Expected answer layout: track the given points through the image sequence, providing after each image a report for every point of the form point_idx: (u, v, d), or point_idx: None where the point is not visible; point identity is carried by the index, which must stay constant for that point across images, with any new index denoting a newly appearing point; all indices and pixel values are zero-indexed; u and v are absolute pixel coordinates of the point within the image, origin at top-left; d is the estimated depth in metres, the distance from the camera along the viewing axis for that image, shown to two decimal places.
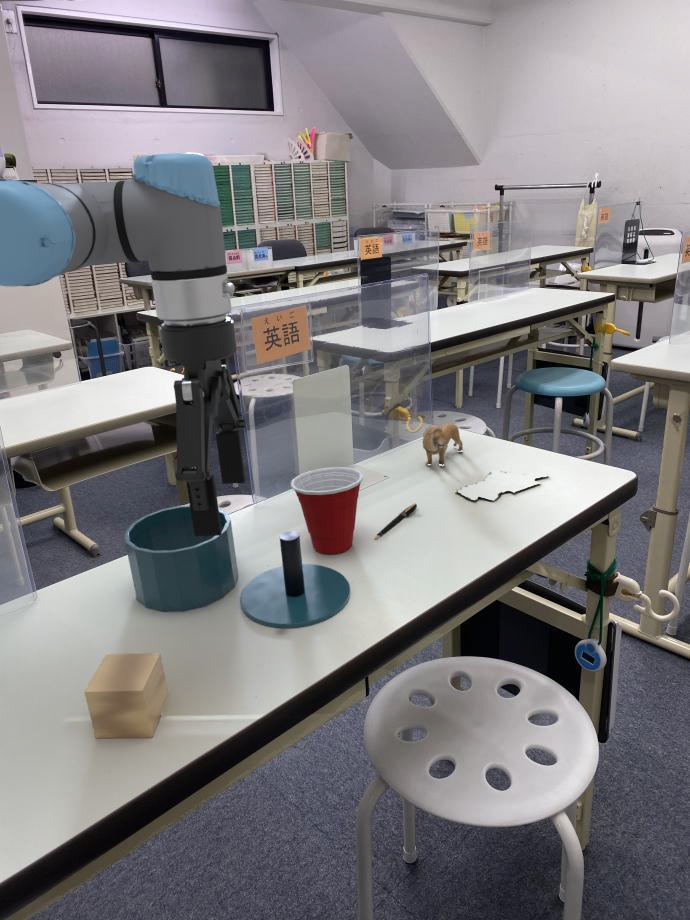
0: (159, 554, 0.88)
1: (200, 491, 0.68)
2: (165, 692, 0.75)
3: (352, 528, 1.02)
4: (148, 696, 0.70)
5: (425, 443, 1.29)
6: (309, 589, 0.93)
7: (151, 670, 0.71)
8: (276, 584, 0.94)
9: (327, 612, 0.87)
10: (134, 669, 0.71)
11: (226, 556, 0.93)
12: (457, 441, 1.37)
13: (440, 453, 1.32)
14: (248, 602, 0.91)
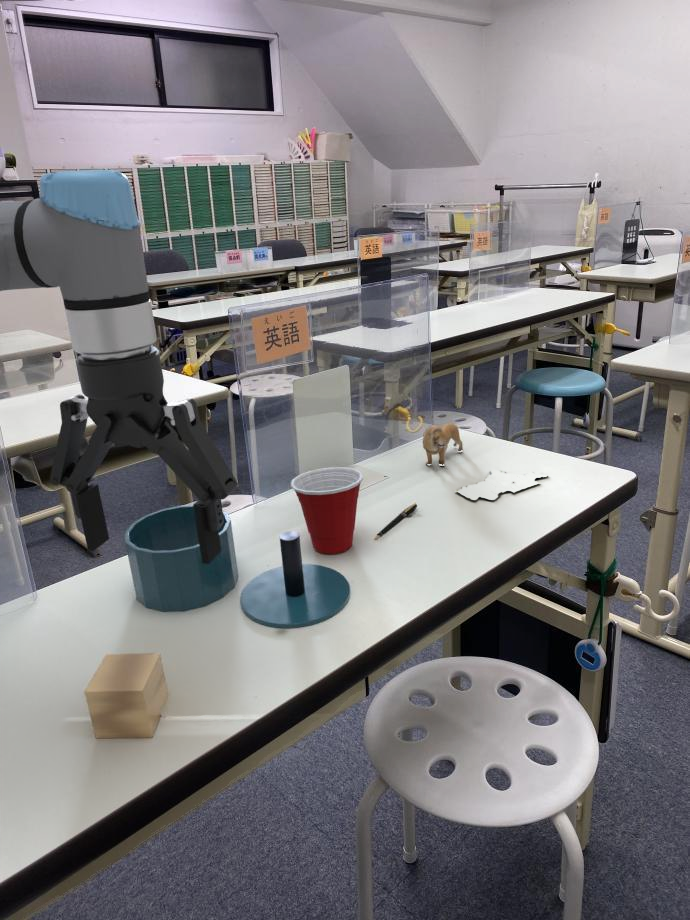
0: (159, 554, 0.88)
1: (220, 507, 0.67)
2: (165, 692, 0.75)
3: (352, 528, 1.02)
4: (148, 696, 0.70)
5: (425, 443, 1.29)
6: (309, 589, 0.93)
7: (151, 670, 0.71)
8: (276, 584, 0.94)
9: (327, 612, 0.87)
10: (134, 669, 0.71)
11: (226, 556, 0.93)
12: (457, 441, 1.37)
13: (440, 453, 1.32)
14: (248, 602, 0.91)
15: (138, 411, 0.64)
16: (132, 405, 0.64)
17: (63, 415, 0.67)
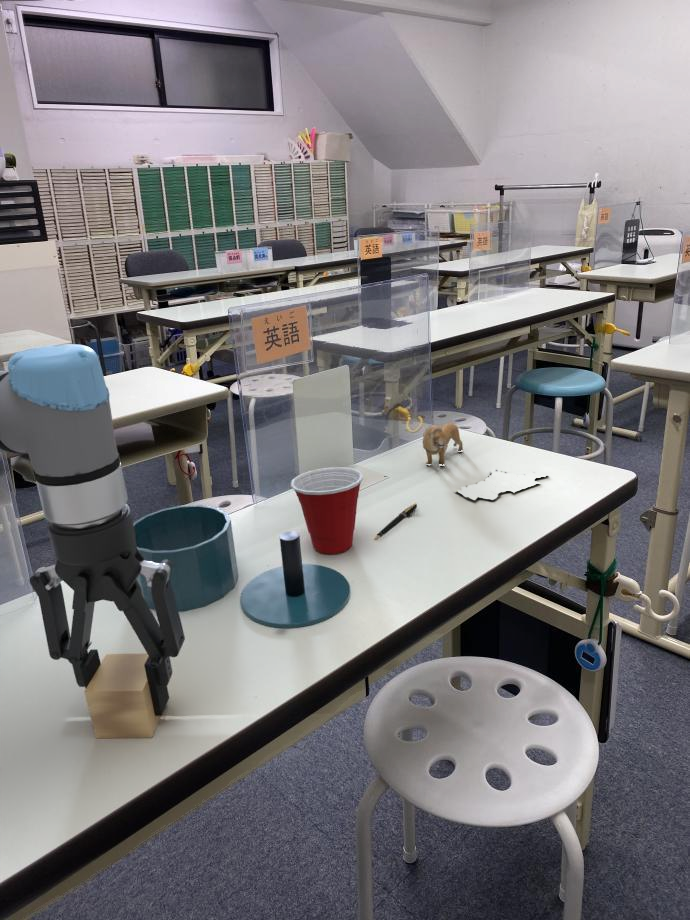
0: (159, 554, 0.88)
1: (169, 661, 0.71)
2: None
3: (352, 528, 1.02)
4: (148, 696, 0.70)
5: (425, 443, 1.29)
6: (309, 589, 0.93)
7: None
8: (276, 584, 0.94)
9: (327, 612, 0.87)
10: (134, 669, 0.71)
11: (226, 556, 0.93)
12: (457, 441, 1.37)
13: (440, 453, 1.32)
14: (248, 602, 0.91)
15: (115, 564, 0.65)
16: None
17: (37, 589, 0.67)
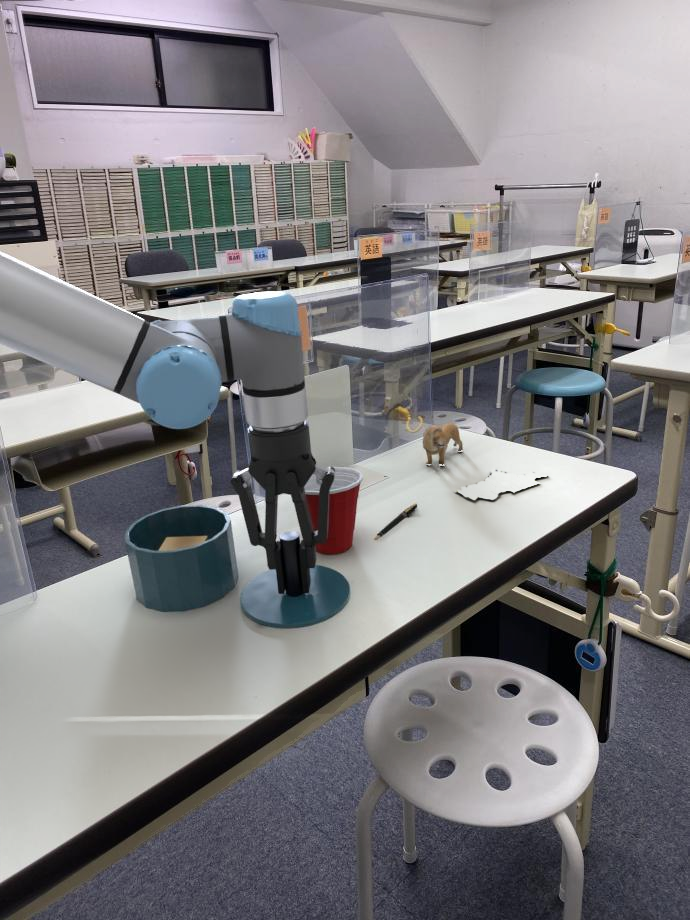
0: (159, 554, 0.88)
1: (315, 549, 0.90)
2: None
3: (352, 528, 1.02)
4: None
5: (425, 443, 1.29)
6: (309, 589, 0.93)
7: None
8: (276, 584, 0.94)
9: (327, 612, 0.87)
10: (189, 545, 0.95)
11: (226, 556, 0.93)
12: (457, 441, 1.37)
13: (440, 453, 1.32)
14: (248, 602, 0.91)
15: (298, 463, 0.84)
16: None
17: (237, 488, 0.86)
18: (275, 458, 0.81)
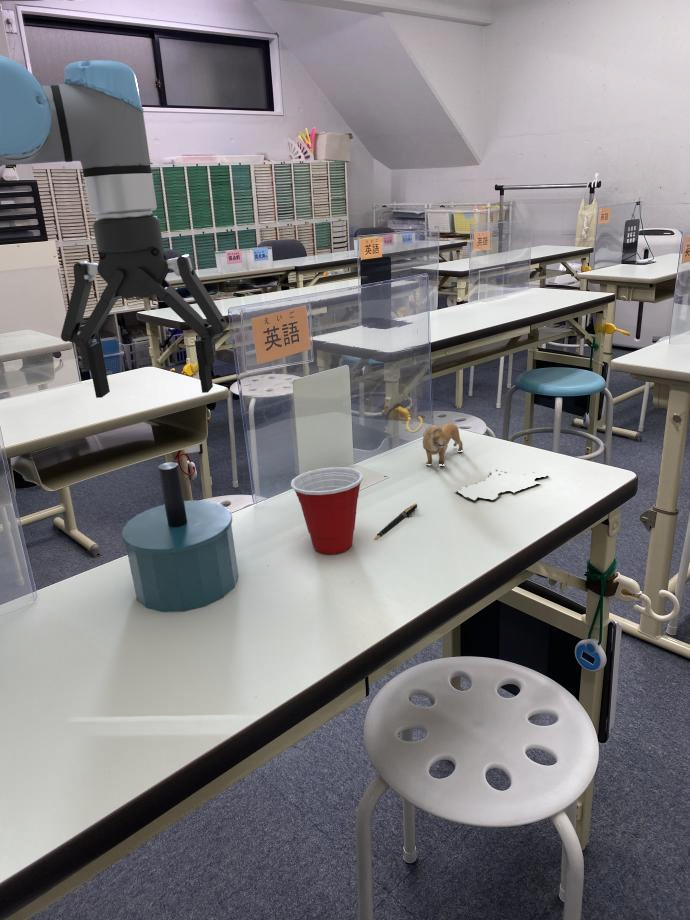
0: (159, 554, 0.88)
1: (214, 345, 0.85)
2: None
3: (352, 528, 1.02)
4: None
5: (425, 443, 1.29)
6: (192, 521, 0.94)
7: None
8: (161, 517, 0.96)
9: (202, 539, 0.89)
10: None
11: (226, 556, 0.93)
12: (457, 441, 1.37)
13: (440, 453, 1.32)
14: (129, 532, 0.92)
15: (146, 265, 0.80)
16: (141, 260, 0.80)
17: (76, 275, 0.81)
18: (118, 247, 0.77)
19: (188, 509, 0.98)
